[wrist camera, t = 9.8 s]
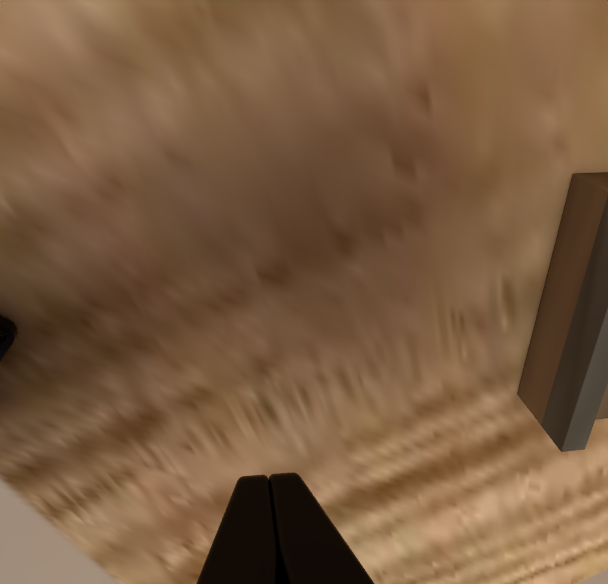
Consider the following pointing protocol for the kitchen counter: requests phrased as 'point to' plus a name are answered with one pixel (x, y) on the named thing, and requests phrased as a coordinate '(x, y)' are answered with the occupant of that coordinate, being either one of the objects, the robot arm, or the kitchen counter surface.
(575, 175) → the panel
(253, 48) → the kitchen counter surface
